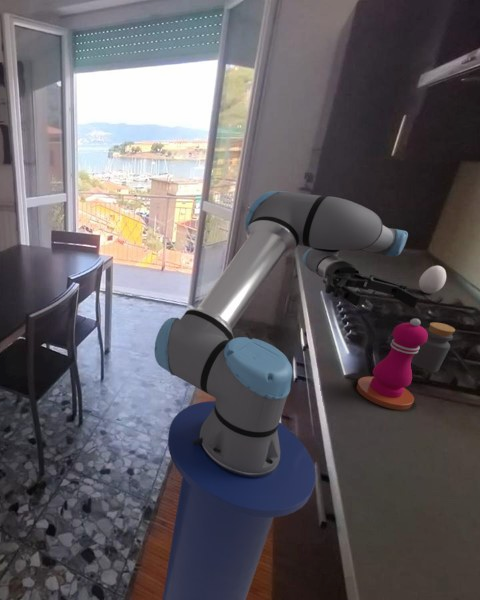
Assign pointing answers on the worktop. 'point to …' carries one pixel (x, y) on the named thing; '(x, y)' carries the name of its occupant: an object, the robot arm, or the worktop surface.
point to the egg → (432, 279)
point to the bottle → (434, 347)
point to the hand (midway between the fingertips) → (386, 301)
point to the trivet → (382, 400)
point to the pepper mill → (399, 360)
